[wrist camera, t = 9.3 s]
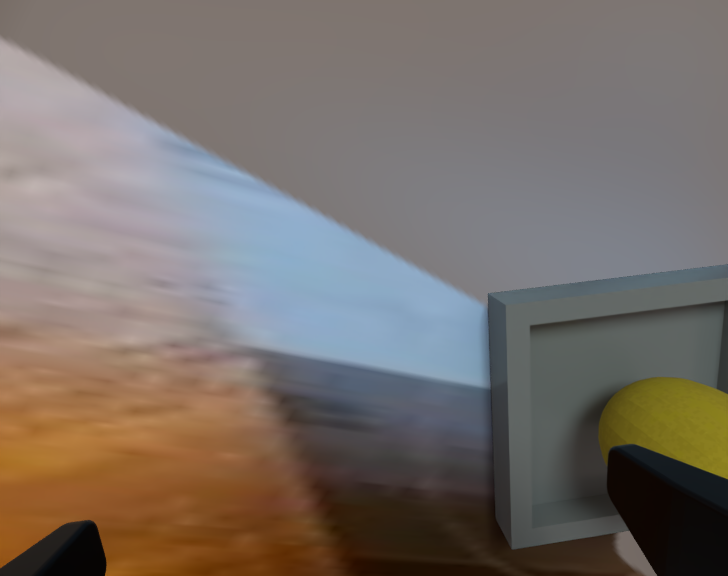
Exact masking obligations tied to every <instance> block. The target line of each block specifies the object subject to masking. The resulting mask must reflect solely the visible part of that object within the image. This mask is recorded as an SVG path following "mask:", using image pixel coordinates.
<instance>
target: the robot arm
mask: <svg viewBox="0 0 728 576" xmlns="http://www.w3.org/2000/svg"><path fill="white" fill-rule="evenodd" d="M607 492H608V495H609V497H610V500H611V501H612V503H613V505H614V506H615V508H616V510H617V511H618V513H619V514H620V516H621V518H622V519H623V521H624V523H625V524H626V526H627V527H628V529H629V531H630V532H631V534H632V535H633V537H634V539H635V540H636V542H637V544H638V545H639V547H640V548H641V550H642V552H643V553H644V555H645V557H646V558H647V560H648V562H649V563H650V565H651V566H652V568H653V570H654V571H655V573H656V574H657V576H728V479H726V478H723V477H721V476H718V475H716V474H713V473H710V472H708V471H705V470H702V469H700V468H697V467H694V466H692V465H689V464H686V463H684V462H681V461H678V460H676V459H673V458H671V457H668V456H665V455H663V454H660V453H657V452H655V451H652V450H649V449H647V448H644V447H641V446H639V445H636V444H625V445H618V446H613V447H612V448H610V450H609V452H608V464H607ZM105 573H106V557H105V553H104V550H103V546H102V543H101V539H100V535H99V532H98V528H97V526H96V524H95V523H94V522H93V521H91V520H84V521H77V522H70V523H66V524H64V525H62V526H61V527H59V528H58V529H56V530H55V531H54V532H52V533H51V534H49V535H48V536H46V537H45V538H43V539H42V540H41V541H39V542H38V543H36V544H35V545H33V546H32V547H30V548H29V549H28V550H26V551H25V552H23V553H22V554H20V555H19V556H17V557H16V558H15V559H13V560H12V561H10V562H9V563H7V564H6V565H4V566H3V567H2V568H0V576H105Z"/></svg>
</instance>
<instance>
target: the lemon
mask: <svg viewBox="0 0 728 576" xmlns="http://www.w3.org/2000/svg"><path fill="white" fill-rule="evenodd" d="M598 439H599V445H600V449H601V452H602V456H603V459H604V462H605V463H606V465H607V464H608V452H609V450H610V448H612V447H613V446H618V445H625V444H636V445H639V446H641V447H644V448H647V449H649V450H652V451H655V452H657V453H660V454H663V455H665V456H668V457H671V458H673V459H676V460H678V461H681V462H684V463H686V464H689V465H692V466H694V467H697V468H700V469H702V470H705V471H708V472H710V473H713V474H716V475H718V476H721V477H723V478H726V479H728V394H726V393H724V392H722V391H720V390H718V389H715V388H713V387H710V386H707V385H704V384H701V383H698V382H694V381H691V380H688V379H683V378H675V377H652V378H647V379H643V380H639V381H636V382H633V383H631V384H629V385H627V386H625V387H624V388H622V389H621V390H620V391H618V392H617V393H616V394H615V395H614V396H613V397H612V398H611V399H610V400H609V401H608V403H607V405H606V406H605V408H604V410H603V412H602V415H601V418H600V421H599V434H598Z"/></svg>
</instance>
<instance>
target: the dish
mask: <svg viewBox="0 0 728 576" xmlns="http://www.w3.org/2000/svg"><path fill="white" fill-rule="evenodd" d="M488 311H489V340H490V370H491V399H492V428H493V457H494V486H495V516H496V520H497V522H498V524H499V526H500V528H501V530H502V532H503V534H504V536H505V538H506V539H507V541H508V543H509V545H510V547H511V549H519V548H525V547H531V546H537V545H543V544H550V543H556V542H562V541H568V540H574V539H581V538H587V537H593V536H599V535H605V534H611V533H618V532H624V531H629V529H628V527H627V526H626V524H625V523H624V521H623V519H622V518H621V516H620V514H619V513H618V511H617V510H616V508H615V506H614V505H613V503H612V501H611V500H610V497H609V495H608V492H607V465H606V463H605V462H604V459H603V456H602V452H601V449H600V445H599V439H598V434H599V421H600V418H601V415H602V412H603V410H604V408H605V406H606V405H607V403H608V401H609V400H610V399H611V398H612V397H613V396H614V395H615V394H616V393H617V392H618V391H620V390H621V389H622V388H624V387H625V386H627V385H629V384H631V383H633V382H636V381H639V380H643V379H647V378H652V377H675V378H683V379H688V380H691V381H694V382H698V383H701V384H704V385H707V386H710V387H713V388H715V389H718V390H720V391H722V392H724V393H726V394H728V264H726V265H719V266H710V267H702V268H694V269H685V270H677V271H669V272H660V273H652V274H644V275H636V276H627V277H619V278H611V279H603V280H595V281H586V282H578V283H570V284H562V285H554V286H546V287H538V288H530V289H520V290H512V291H504V292H496V293H488Z"/></svg>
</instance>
